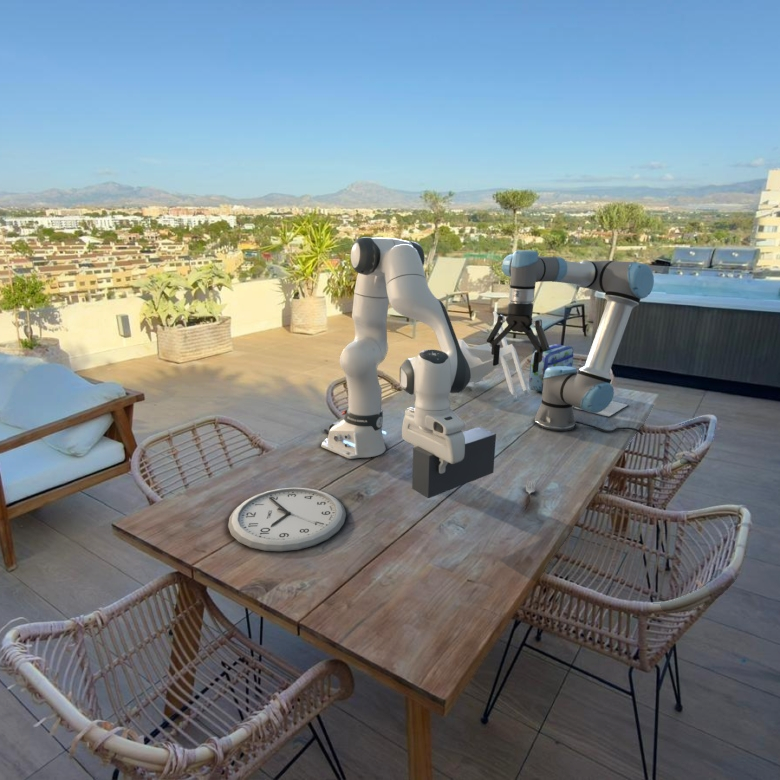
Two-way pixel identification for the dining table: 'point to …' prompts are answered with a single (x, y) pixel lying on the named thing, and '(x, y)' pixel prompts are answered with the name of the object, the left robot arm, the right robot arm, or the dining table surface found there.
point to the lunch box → (550, 364)
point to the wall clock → (287, 519)
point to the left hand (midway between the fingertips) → (430, 466)
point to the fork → (529, 490)
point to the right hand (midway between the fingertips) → (514, 368)
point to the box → (455, 475)
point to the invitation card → (610, 408)
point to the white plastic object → (483, 361)
